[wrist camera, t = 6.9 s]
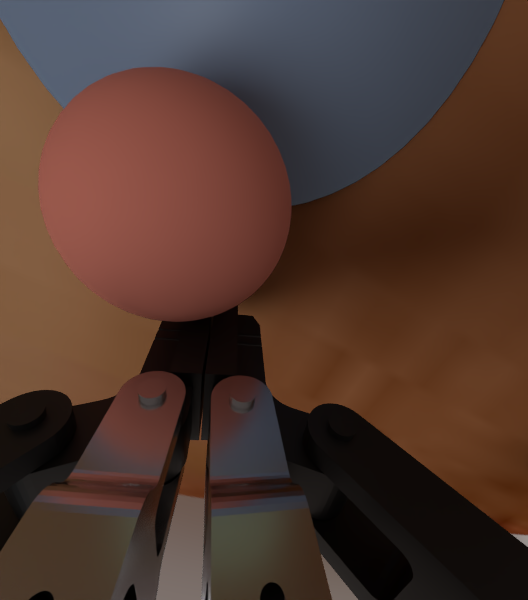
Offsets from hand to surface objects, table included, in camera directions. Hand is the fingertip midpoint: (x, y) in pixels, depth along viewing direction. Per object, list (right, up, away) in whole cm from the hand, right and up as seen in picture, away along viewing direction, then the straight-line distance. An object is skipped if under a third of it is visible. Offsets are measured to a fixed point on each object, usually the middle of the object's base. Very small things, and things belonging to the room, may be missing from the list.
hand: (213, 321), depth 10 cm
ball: (0, +3, -3) cm, 4 cm away
